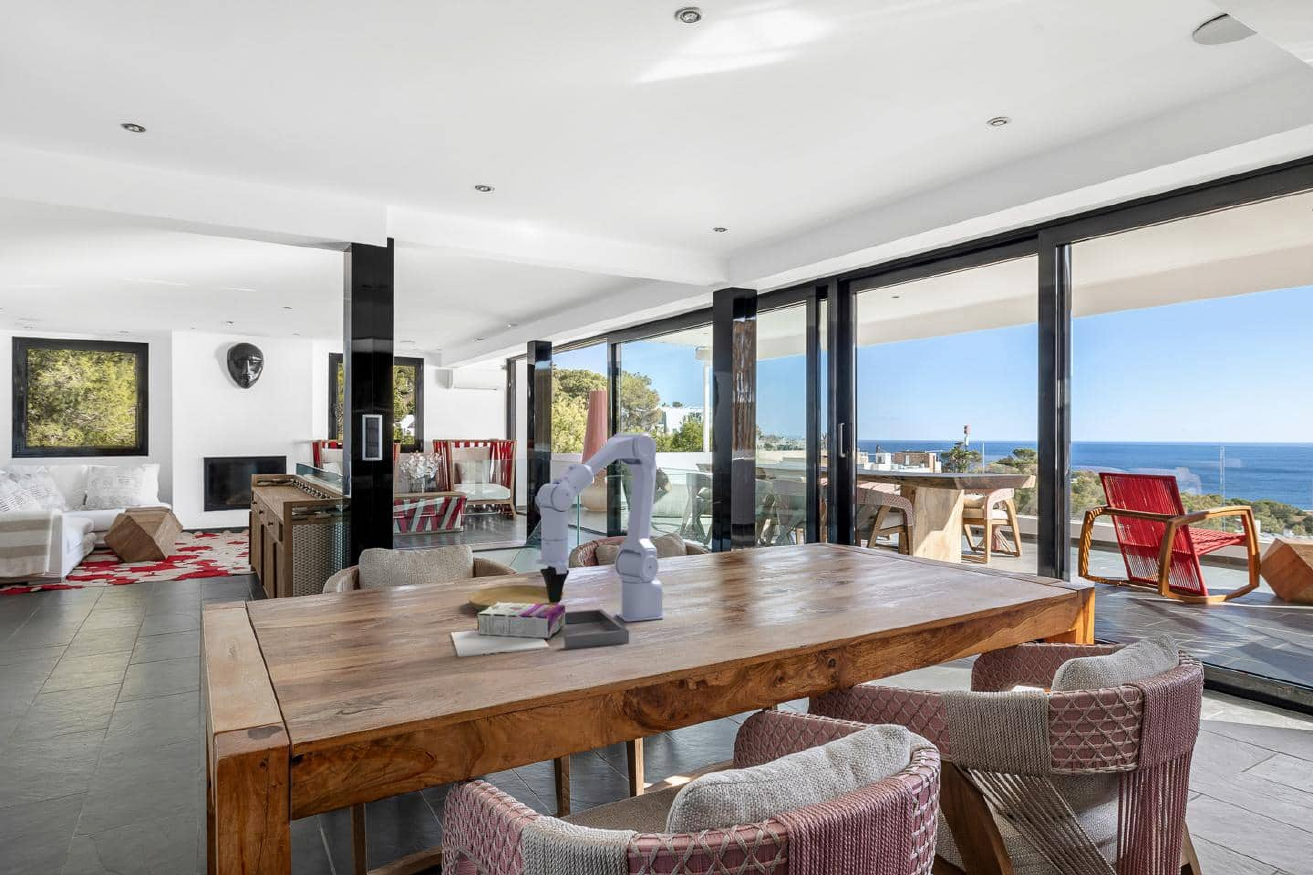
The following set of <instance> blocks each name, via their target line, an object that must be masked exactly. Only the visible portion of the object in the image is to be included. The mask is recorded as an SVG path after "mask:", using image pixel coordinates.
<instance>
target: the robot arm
mask: <svg viewBox="0 0 1313 875" xmlns="http://www.w3.org/2000/svg"><path fill="white" fill-rule="evenodd" d="M657 445H658V444H657V442H656V441H655V440H654V439H653V437H652V436H651V435H650V434H649V433H647V432H641V433H640V432H637V433H634V432H631V433H628V432H627V433H624V432H617V433H615V434H613V436H612V437H609V438H608V439H607V440H606V443H605V444H604V445H603V446H602V447H601V448H600V449H599V450H597V452H595V453H594V454H593V455H592V456H591V457H590V458H589V459H587V460H586V461H585V462H584V463H580V462H577V463H571V464H570V465H568V469H567V470H566V471H565V472H563V473H562V474H561V475H560V476H555V478H554V479H553V481H552V483H545V484H543V485H542V486H540V488H539V490H538V491H537V494H536V496H534V498H535V503H536V505H537V506H538V508H539V515H540V517H541V518H540V522H541V525H540V534H541V535H540V540H541V541H540V542H541V543H540V546H541V547H540V549H541V552H540V553H541V554H540V556H541V558H540V559H535V564H537V565H543V566H547V567H546V568H540V569H539V570H540V571H539V572H540V574H541V575H542V577H543V580H544V583H545V586H546V588H547V594H548V598H549V602H550V603H554V602H559V603H560V602H561V601H560V599H561V595H562V591H563V590H564V587H565V586H564V585H565V582H566V580H567V578H568V577H569V574H570V570H569V569H568V568H567V566H568V565H569V563H570V562H569V560H570V559H569V558H568V557H569V552H568V550H569V548H568V546H569V545H568V543H569V542H568V541H569V538H568V537H569V522H568V521H569V520H568V519H569V517H568V515H569V509H571V507H572V506H573V504H574V500H575V498H577V496H579V495H580V494H581V493H582V492H583V491H585V490H586V489H587V488H588V487H589V486H591V485H592V484H593V482H594V476H595V475H597V474H598V473H599V472H601V471H602V470H603V469H605V468H606V467H607V466H610V465H611V464H612V463H614V462H615V461H616V460H618V461H619V462H621V463H622V464H623V465H625V466H627V468H629V469H630V471H631V472H632V474H633V476H632V485H631V486H632V487H631V492H630V494H631V495H630V496H631V497H630V503H629V504H630V505H629V513H628V524H627V534H626V539H624V540H623V541H622V542H621V543H620V544H619V547H618V553H617V554H616V557H615V559H614V569H615V572H616V574H618V575H619V580H621V582H620V583H621V586H620V587H621V590H620V591H621V592H620V593H621V604H620V605H621V611H619V612H618V611H617V612H616V613H615V614H616V616H618V617H619V618H620V619H622V620H623V622H626V623H627V622H637V621H638V622H639V621H649V620H660V619H664V616H663V587H662V583H661V581H660V580H659V579H657V578H655V577H656V576H657V574H658V571H659V566H660V565H659V561H658V549H657V547H656V546H655V545H654V544H653V542H652V541H651V531H652V530H651V529H652V521H653V520H652V519H653V508H654V500H655V489H656V479H657V470H658V469H657V468H658V467H657V462H656V454H657Z"/></svg>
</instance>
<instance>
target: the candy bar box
mask: <svg viewBox="0 0 1313 875" xmlns="http://www.w3.org/2000/svg"><path fill="white" fill-rule="evenodd" d="M565 612H566V605H565V604H557V605H552V604H529V603H508V602H497V603H495V604H493V605H492V606H490V607H488V608H486V609H485V610H483V611H481V612H480V611H479V612H478V613H477V630H478V635H494V636H514V637H531V638H543V639H550V638H551V637H553V635H554V634H556V633H557V632H559V631H560V630H561V629H562V628H564V627H565V626H566V624H565Z"/></svg>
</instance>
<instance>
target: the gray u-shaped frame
mask: <svg viewBox="0 0 1313 875" xmlns="http://www.w3.org/2000/svg"><path fill="white" fill-rule="evenodd" d="M581 622H583V623H593V622H594V623H595V622H599V623H600V624H602V626H604V627H605V628H606V629H607V631H597V632H586V633H576V634H575V633H574V634H573V633H572V634H564V637H563V639H564V640H563V641H564V642H563V643H564V646H563V648H564V649H565V650H570V649H578V648H579V649H581V648H582V649H583V648H589V647H591V648H592V647H600V646H603V647H604V646H610V645H611V646H612V645H622V644H629V643H630V631H629V630H628V629H627V628H626V627H625V626H623V625H622V624H621V623H620V622H619V621H617V620H616V619H615V618H613V617H612V616H611V615H609V614H608V613H607V612H606V611H605V610H603V609H602V608H599V609H598V608H597V609H584V610H575V611H574V610H573V611H565V625H568V624H567V623H571V624H580V623H581Z"/></svg>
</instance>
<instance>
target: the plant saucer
mask: <svg viewBox="0 0 1313 875" xmlns="http://www.w3.org/2000/svg"><path fill="white" fill-rule="evenodd" d="M564 596H565V593H564V591H563V590H562V595H561V599H560V602H561V601H562V599H563V598H564ZM467 600H468V602H469V604H470V605H471V606H472V607H473V608H474V609H476V610H477V611H479V612H480V611H483V610H485V609H486V608H488V607H490V606H492V605H493V604H495V603H497V602H508V603H529V604H552V605H559V603H560V602H554V603H550V602H549V598H548V594H547V588H546V585H535V584H515V585H514V584H512V585H501V586H493V587H487V588H483V589H479V590H475V591H473V592H471V593H470V594H469V595H468V596H467Z"/></svg>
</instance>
